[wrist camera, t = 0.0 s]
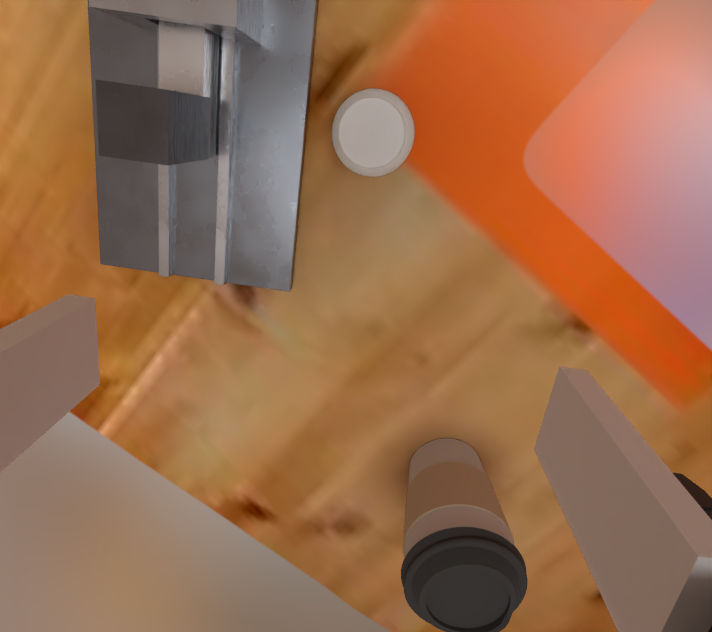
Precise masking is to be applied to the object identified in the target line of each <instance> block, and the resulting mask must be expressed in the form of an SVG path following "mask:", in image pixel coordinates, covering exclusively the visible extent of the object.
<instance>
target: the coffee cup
mask: <svg viewBox="0 0 712 632" xmlns="http://www.w3.org/2000/svg"><path fill="white" fill-rule="evenodd" d="M403 553H404V557H405V559H404V561H403V564H402V569H401V580H402V584H403V587H404V593H405V597H406V600H407V602H408V604H409V606H410V607H411V609H412V610H413V611H414V612H415V613H416V614H417V615H418V616H419V617H421V618H422V619H423V620H425V621H426V622H428V623H430V624H432V625H433V626H435V627H436V628H438V629H440V630H443V631H445V632H499V631H501V630H502V629H504V628H505V627H506V626H507V624H508V622H509V620H510V618H511V615H512V612H513V611H514V610H515V609H516V608H517V607H518V606H519V604H520V603H521V602H522V600H523V598H524V596H525V593H526V589H527V575H526V567H525V563H524V560H523V558H522V556H521V554H520V552H519V551H518V550H517V548H516V547H515V546H514V540H513V536H512V533H511V531H510V528H509V526H508V523H507V521H506V519H505V516H504V514H503V511H502V509H501V506H500V504H499V502H498V499H497V497H496V494H495V492H494V489H493V487H492V485H491V482H490V481H489V479H488V478H487V476H486V474H485V471H484V469H483V466H482V464H481V462H480V459H479V457H478V455H477V453H476V452H475V450H474V449H473V448H472V447H471V446H469V445H468V444H466V443H465V442H462V441H460V440H456V439H450V438H443V439H436V440H433V441H430V442H428V443H426V444H424V445H423V446H421V447H420V448H419V449H418V450H417V451H416V452H415V454H414V455H413V457H412V459H411V461H410V466H409V485H408V490H407V494H406V507H405V522H404V538H403Z"/></svg>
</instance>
